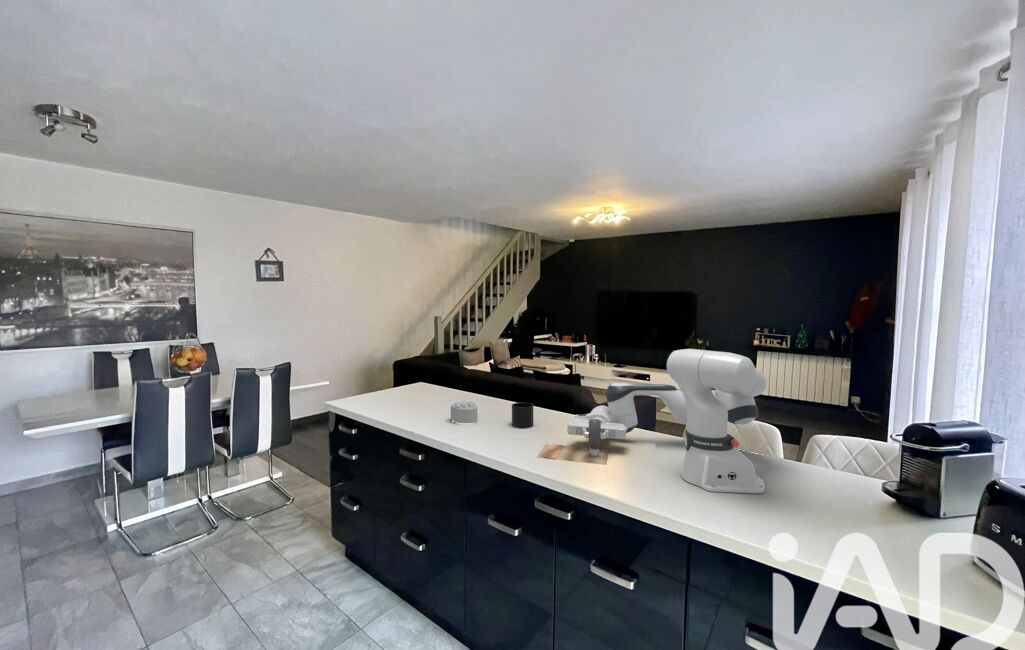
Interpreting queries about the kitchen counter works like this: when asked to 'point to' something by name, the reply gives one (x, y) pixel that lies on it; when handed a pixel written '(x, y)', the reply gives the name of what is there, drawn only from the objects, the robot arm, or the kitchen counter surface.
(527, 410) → the mug
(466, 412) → the lumpy-topped squat cylinder
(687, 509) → the kitchen counter surface
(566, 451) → the board
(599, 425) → the round-topped grey cylinder
